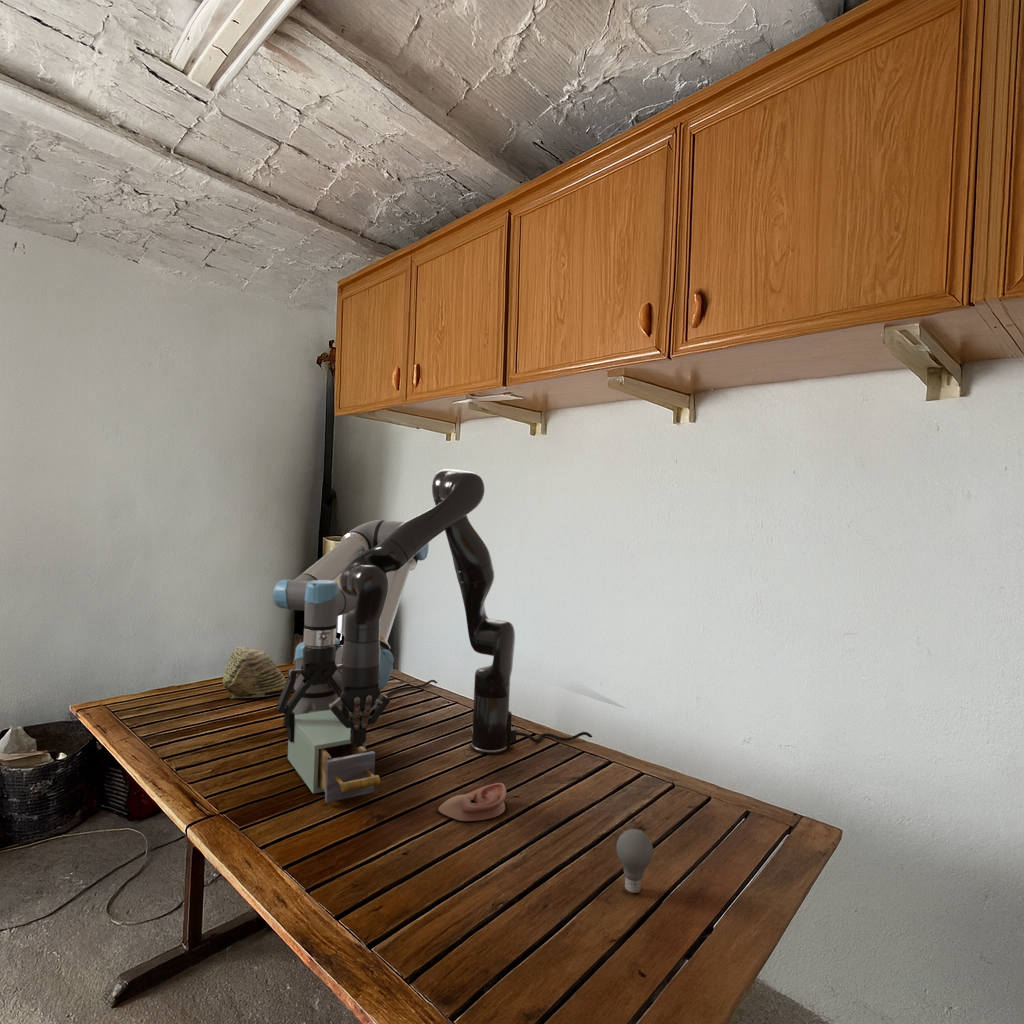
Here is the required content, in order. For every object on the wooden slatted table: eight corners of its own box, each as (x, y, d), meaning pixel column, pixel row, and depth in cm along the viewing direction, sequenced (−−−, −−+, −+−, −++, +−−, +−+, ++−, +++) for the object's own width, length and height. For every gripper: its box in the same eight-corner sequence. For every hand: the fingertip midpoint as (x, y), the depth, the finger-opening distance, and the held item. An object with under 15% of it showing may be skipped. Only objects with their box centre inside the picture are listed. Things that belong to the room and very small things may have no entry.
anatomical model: (434, 797, 127) (451, 773, 138) (433, 817, 127) (450, 791, 138) (498, 806, 124) (510, 781, 135) (497, 826, 124) (509, 800, 136)
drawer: (384, 803, 130) (386, 763, 130) (336, 815, 124) (337, 773, 124) (343, 758, 151) (344, 723, 151) (300, 767, 145) (301, 730, 145)
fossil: (218, 695, 195) (220, 647, 195) (278, 685, 208) (279, 640, 207) (228, 703, 189) (230, 653, 188) (289, 692, 201) (290, 645, 201)
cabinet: (364, 782, 141) (366, 736, 141) (313, 793, 135) (314, 745, 135) (334, 749, 158) (335, 708, 158) (287, 758, 152) (289, 715, 152)
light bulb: (610, 879, 108) (613, 822, 108) (644, 879, 109) (647, 822, 109) (619, 902, 102) (622, 840, 102) (655, 901, 103) (658, 840, 103)
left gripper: (272, 653, 142) (268, 750, 143) (372, 644, 155) (369, 732, 156) (264, 646, 148) (260, 738, 149) (361, 637, 162) (358, 722, 162)
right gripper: (335, 669, 122) (331, 758, 122) (398, 662, 129) (395, 746, 130) (323, 660, 128) (319, 745, 129) (384, 653, 136) (381, 734, 136)
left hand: (316, 735), depth 152 cm, fingers closed on cabinet, 11 cm apart
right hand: (357, 745), depth 129 cm, fingers closed
